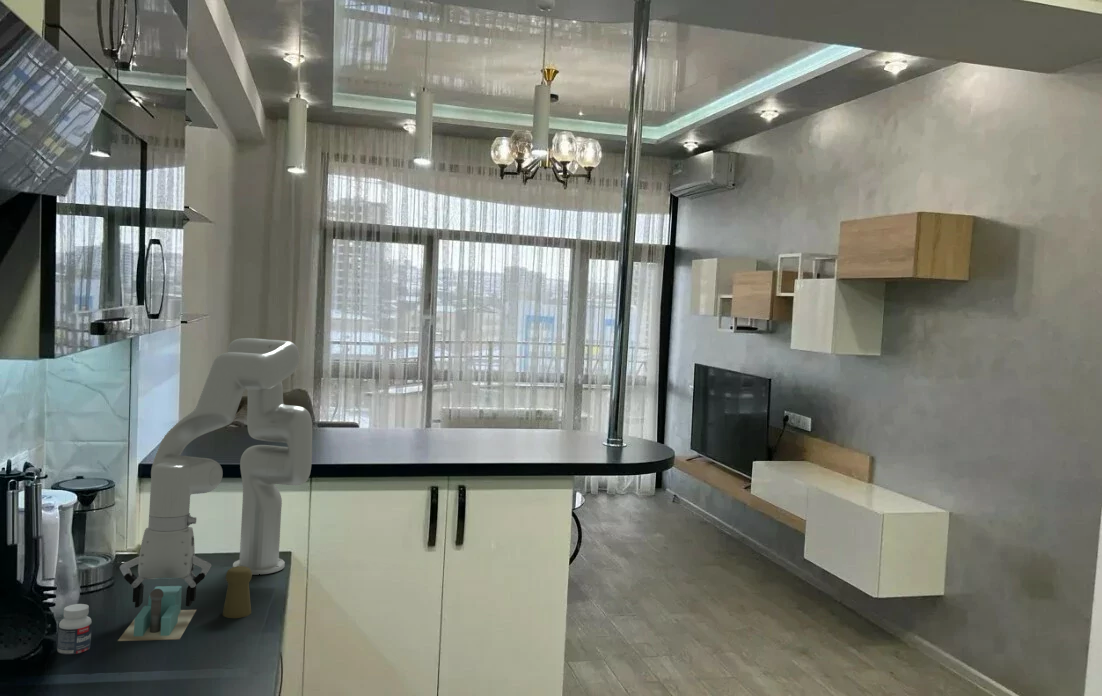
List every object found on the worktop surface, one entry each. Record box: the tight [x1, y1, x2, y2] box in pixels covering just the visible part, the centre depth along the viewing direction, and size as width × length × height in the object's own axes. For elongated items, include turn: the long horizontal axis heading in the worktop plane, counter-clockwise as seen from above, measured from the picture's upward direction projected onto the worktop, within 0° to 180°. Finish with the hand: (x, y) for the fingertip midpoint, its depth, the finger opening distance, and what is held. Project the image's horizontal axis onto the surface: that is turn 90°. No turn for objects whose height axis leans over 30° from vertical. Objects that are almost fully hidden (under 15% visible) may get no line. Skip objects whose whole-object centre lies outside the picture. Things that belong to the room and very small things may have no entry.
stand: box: [117, 588, 197, 642], centre depth 160 cm, size 16×11×10 cm
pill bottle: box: [56, 603, 93, 655], centre depth 147 cm, size 5×5×9 cm
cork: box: [222, 566, 253, 619], centre depth 169 cm, size 6×6×11 cm
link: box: [133, 585, 183, 636], centre depth 161 cm, size 13×6×6 cm, turn 13°
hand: (164, 604), depth 164 cm, fingers open, 9 cm apart
